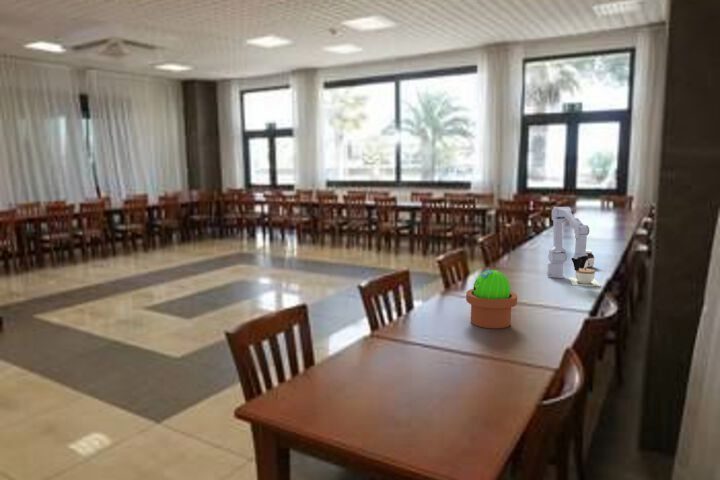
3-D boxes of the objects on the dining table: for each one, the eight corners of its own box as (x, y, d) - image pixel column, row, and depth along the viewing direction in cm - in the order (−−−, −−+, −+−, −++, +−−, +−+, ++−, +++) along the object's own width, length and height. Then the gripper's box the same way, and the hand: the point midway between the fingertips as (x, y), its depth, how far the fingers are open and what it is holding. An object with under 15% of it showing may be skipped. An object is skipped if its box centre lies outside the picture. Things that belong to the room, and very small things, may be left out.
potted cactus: (506, 315, 250) (509, 263, 246) (522, 330, 228) (525, 274, 224) (460, 316, 249) (462, 264, 245) (472, 331, 227) (474, 274, 223)
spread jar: (591, 266, 364) (592, 249, 362) (596, 269, 353) (598, 252, 351) (573, 265, 365) (574, 249, 363) (578, 269, 354) (579, 252, 352)
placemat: (573, 284, 310) (573, 284, 310) (568, 277, 328) (568, 277, 328) (600, 286, 306) (600, 285, 306) (594, 279, 324) (594, 278, 324)
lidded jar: (597, 285, 308) (598, 269, 307) (578, 284, 309) (579, 269, 307) (589, 280, 319) (590, 265, 318) (571, 280, 319) (572, 265, 318)
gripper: (583, 248, 295) (581, 272, 297) (592, 245, 306) (590, 268, 308) (570, 247, 300) (569, 270, 302) (580, 244, 310) (578, 266, 313)
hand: (579, 269), depth 305 cm, fingers open, 7 cm apart
